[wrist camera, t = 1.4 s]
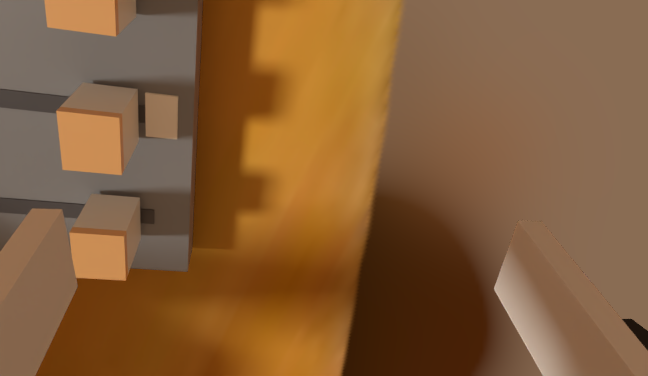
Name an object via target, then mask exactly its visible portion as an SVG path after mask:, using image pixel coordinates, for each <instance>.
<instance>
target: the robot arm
mask: <svg viewBox="0 0 648 376" xmlns="http://www.w3.org/2000/svg"><path fill="white" fill-rule="evenodd" d="M77 287H78V285H77V280H76V275H75V270H74V265H73V260H72V255H71V250H70V245H69V240H68V235H67V230H66V225H65V220H64V216H63V211H62V209H35V208H32V209H31V210H30V212H29V213H28V215H27V216H26V217H25V219H24V220H23V221H22V223H21V224H20V225H19V227H18V228H17V229H16V231H15V232H14V234H13V235H12V236H11V238H10V239H9V240H8V242H7V243H6V244H5V246H4V247H3V248H2V250H1V251H0V376H35V375H36V373H37V371H38V369H39V367H40V365H41V363H42V361H43V359H44V357H45V354H46V352H47V350H48V348H49V346H50V344H51V342H52V340H53V338H54V336H55V333H56V331H57V329H58V327H59V325H60V323H61V321H62V319H63V317H64V315H65V312H66V310H67V308H68V306H69V304H70V302H71V300H72V298H73V296H74V294H75V291H76V289H77ZM494 290H495V292H496V294H497V296H498V297H499V299H500V301H501V303H502V304H503V306H504V308H505V310H506V312H507V313H508V315H509V317H510V319H511V320H512V322H513V324H514V326H515V327H516V329H517V331H518V333H519V335H520V336H521V338H522V340H523V342H524V343H525V345H526V347H527V348H528V350H529V352H530V354H531V356H532V358H533V359H534V361H535V363H536V365H537V366H538V368H539V370H540V371H541V373H542V375H543V376H648V331H647V330H646V329H644V328H643V327H642V326H640V325H639V324H637V323H636V322H635V321H634V320H632V319H621V318H620V316H619V315H618V314H617V313H616V312H615V310H614V309H613V308H612V307H611V305H610V304H609V303H608V302H607V301H606V299H605V298H604V297H603V296H602V294H601V293H600V292H599V291H598V290H597V288H596V287H595V286H594V285H593V284H592V282H591V281H590V280H589V279H588V278H587V276H586V275H585V274H584V273H583V271H582V270H581V269H580V268H579V267H578V266H577V264H576V263H575V262H574V260H572V258H571V257H570V256H569V254H568V253H567V252H566V251H565V250H564V248H563V247H562V246H561V245H560V243H559V242H558V241H557V240H556V239H555V238H554V236H553V235H552V234H551V233H550V231H549V230H548V229H547V228H546V226H545V225H544V224H543V223H542V222H541V221H518V222H517V225H516V227H515V230H514V233H513V236H512V239H511V242H510V244H509V247H508V250H507V253H506V256H505V259H504V261H503V264H502V267H501V270H500V273H499V276H498V279H497V281H496V284H495V287H494Z"/></svg>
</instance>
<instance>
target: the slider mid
mask: <svg viewBox="0 0 648 376" xmlns="http://www.w3.org/2000/svg"><path fill="white" fill-rule="evenodd" d="M56 113H57V122H58V132H59V141H60V150H61V160H62V169H63V170H70V171H81V172H92V173H103V174H114V175H122V174H123V172H124V170H125V168H126V166H127V164H128V162H129V160H130V158H131V156H132V154H133V152H134V150H135V148H136V146H137V144H138V142H139V127H138V89H134V88H125V87H117V86H108V85H100V84H92V83H82V84H81V85H80V86H79V87H78V88H77V90H76V91H75V92H74V93H73V94H72V95H71V96H70V97H69V98H68V99H67V100H66V101H65V102H64V103H63V104H62V105H61V106H60V108H59V109H58V110H57V111H56Z"/></svg>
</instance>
